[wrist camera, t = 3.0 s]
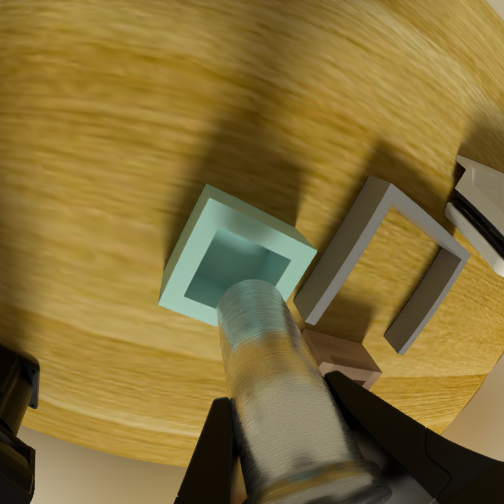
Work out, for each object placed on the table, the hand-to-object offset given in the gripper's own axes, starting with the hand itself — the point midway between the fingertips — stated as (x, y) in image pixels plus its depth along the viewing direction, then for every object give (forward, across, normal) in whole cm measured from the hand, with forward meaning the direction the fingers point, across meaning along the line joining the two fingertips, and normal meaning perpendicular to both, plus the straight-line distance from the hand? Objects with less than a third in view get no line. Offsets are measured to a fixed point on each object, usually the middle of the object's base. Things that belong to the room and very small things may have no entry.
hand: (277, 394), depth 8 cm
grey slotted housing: (+12, -25, +1) cm, 28 cm away
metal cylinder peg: (+5, 0, 0) cm, 5 cm away
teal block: (+12, 0, 0) cm, 12 cm away
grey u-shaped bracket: (+11, -10, +4) cm, 16 cm away
